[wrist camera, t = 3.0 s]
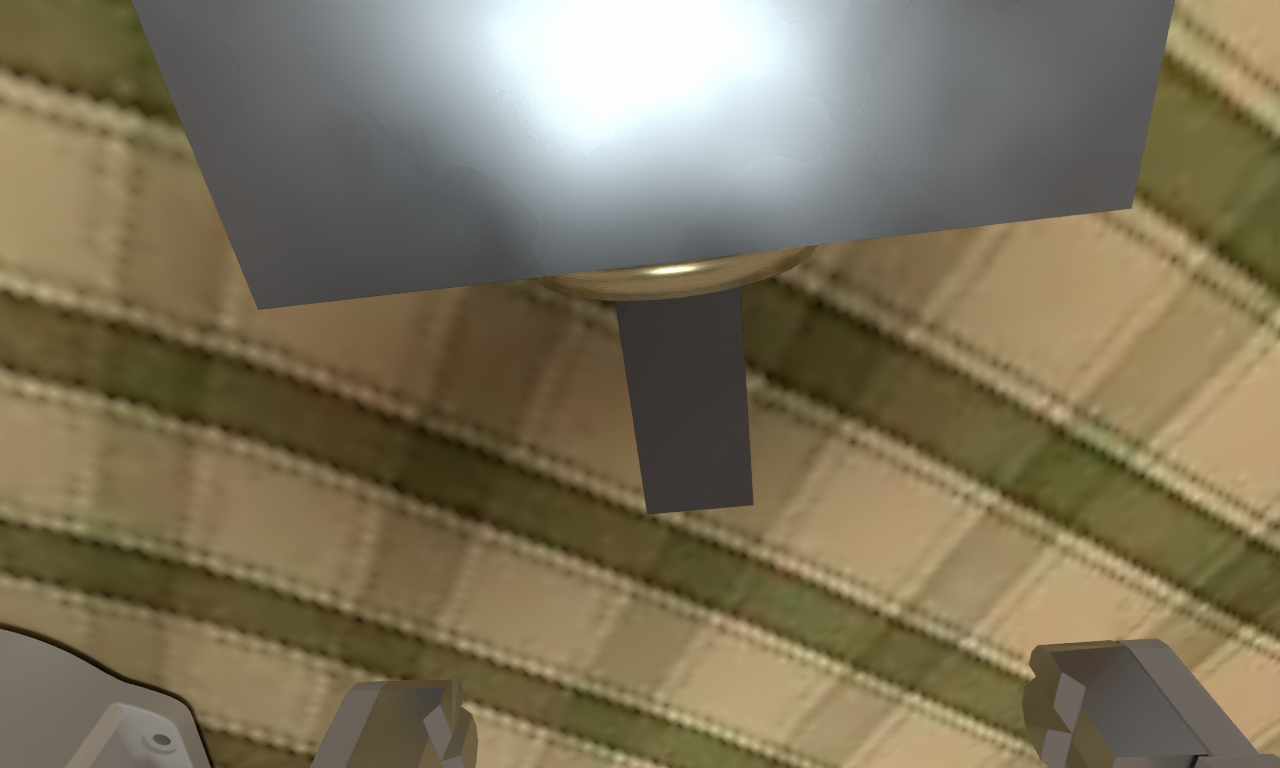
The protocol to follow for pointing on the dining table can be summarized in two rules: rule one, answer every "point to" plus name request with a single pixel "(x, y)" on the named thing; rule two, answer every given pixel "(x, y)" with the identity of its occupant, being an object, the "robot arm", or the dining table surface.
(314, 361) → the dining table surface
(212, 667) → the dining table surface
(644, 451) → the brass flanged shaft
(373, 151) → the housing
